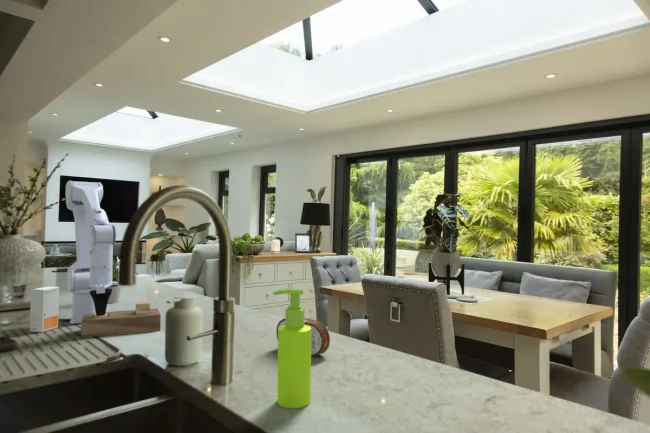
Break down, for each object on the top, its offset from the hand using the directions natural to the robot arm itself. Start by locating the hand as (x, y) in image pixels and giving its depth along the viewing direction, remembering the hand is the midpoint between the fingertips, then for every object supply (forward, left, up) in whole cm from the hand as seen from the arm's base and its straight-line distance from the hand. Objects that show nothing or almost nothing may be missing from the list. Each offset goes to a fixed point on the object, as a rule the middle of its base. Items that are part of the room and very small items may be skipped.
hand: (100, 315), depth 125 cm
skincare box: (-9, -15, -5) cm, 18 cm away
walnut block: (0, +5, -5) cm, 7 cm away
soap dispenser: (+67, +31, -5) cm, 74 cm away
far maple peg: (0, +11, -1) cm, 11 cm away
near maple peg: (0, 0, -4) cm, 4 cm away
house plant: (-49, +2, -5) cm, 49 cm away
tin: (+41, +44, -5) cm, 61 cm away
